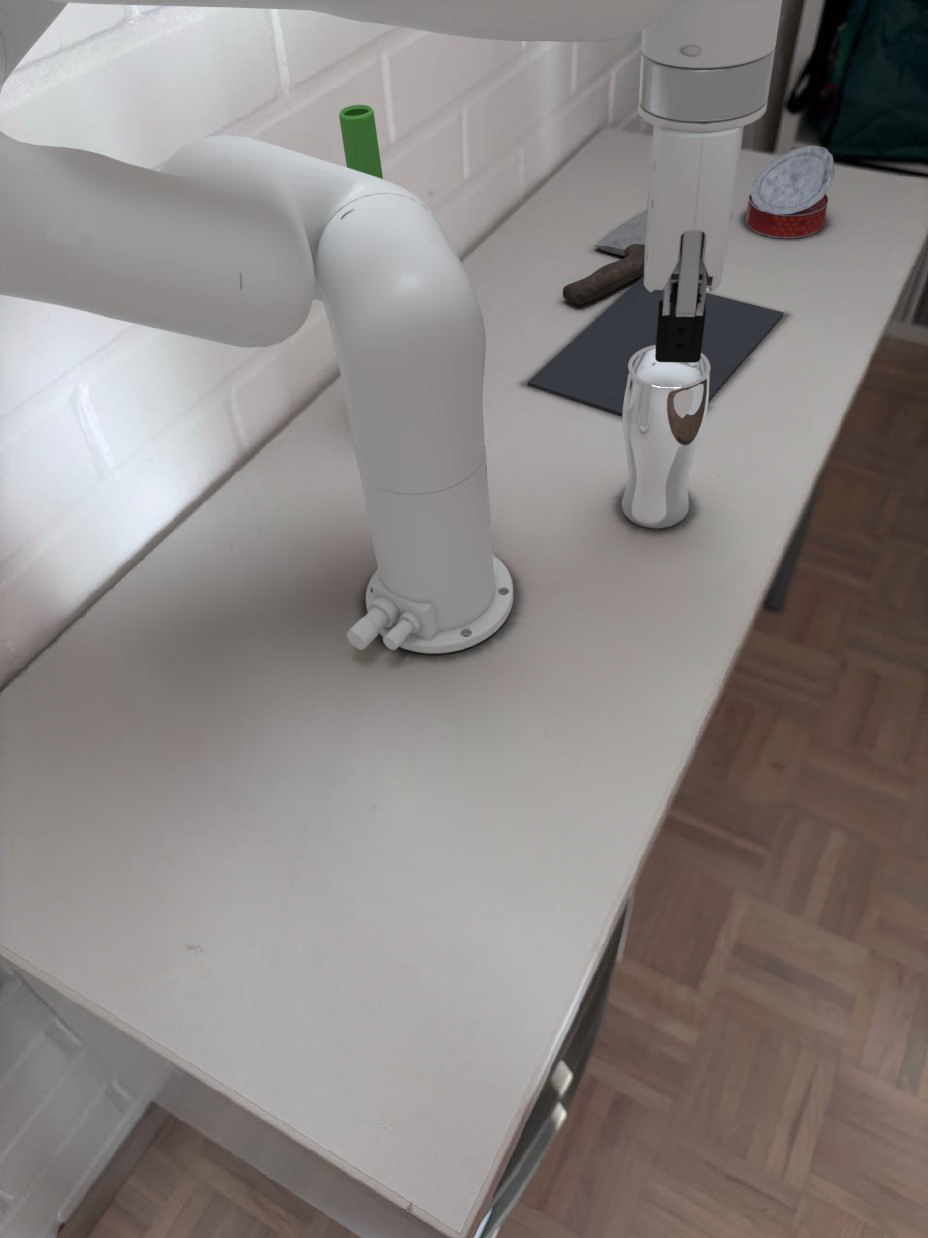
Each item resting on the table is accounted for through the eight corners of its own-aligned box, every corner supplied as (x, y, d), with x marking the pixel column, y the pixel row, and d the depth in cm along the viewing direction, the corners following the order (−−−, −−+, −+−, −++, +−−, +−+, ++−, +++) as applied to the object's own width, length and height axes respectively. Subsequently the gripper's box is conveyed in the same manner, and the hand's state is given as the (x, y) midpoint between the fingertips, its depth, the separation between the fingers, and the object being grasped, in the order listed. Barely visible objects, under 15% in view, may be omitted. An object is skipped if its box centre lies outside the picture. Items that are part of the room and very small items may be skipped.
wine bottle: (417, 384, 104) (380, 86, 82) (448, 419, 99) (417, 112, 77) (352, 406, 102) (296, 107, 80) (380, 443, 97) (328, 136, 75)
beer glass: (653, 543, 84) (668, 400, 73) (601, 504, 88) (607, 363, 77) (709, 509, 87) (731, 366, 76) (656, 473, 91) (669, 332, 80)
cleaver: (596, 314, 111) (597, 298, 109) (530, 292, 115) (529, 276, 114) (722, 219, 125) (724, 203, 124) (658, 203, 130) (660, 187, 129)
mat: (679, 434, 94) (679, 431, 94) (527, 385, 102) (527, 381, 102) (783, 315, 108) (783, 312, 108) (642, 279, 116) (642, 276, 116)
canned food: (816, 262, 125) (847, 211, 115) (740, 258, 125) (765, 207, 115) (811, 189, 128) (841, 134, 118) (737, 185, 128) (761, 130, 118)
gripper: (642, 42, 61) (628, 303, 75) (635, 134, 51) (621, 415, 65) (762, 37, 60) (726, 303, 73) (779, 130, 50) (734, 418, 64)
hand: (677, 355), depth 69 cm, fingers closed
